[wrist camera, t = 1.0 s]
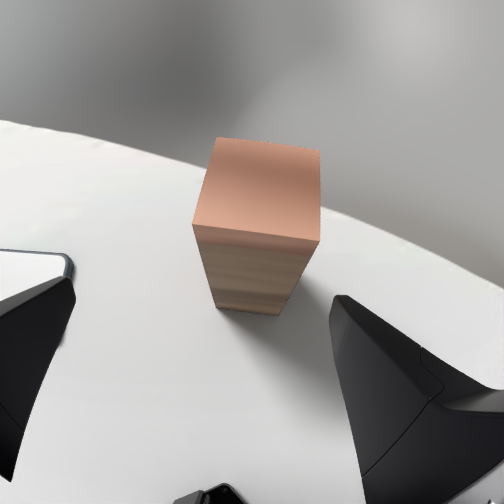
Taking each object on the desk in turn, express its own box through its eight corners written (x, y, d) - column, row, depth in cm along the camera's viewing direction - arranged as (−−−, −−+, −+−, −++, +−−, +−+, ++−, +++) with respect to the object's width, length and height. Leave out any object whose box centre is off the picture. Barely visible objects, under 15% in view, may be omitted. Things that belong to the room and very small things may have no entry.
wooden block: (277, 315, 23) (319, 240, 11) (215, 307, 23) (191, 224, 11) (283, 259, 25) (319, 150, 13) (225, 251, 25) (216, 137, 13)
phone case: (79, 258, 25) (-13, 251, 24) (72, 251, 23) (-20, 245, 22) (63, 347, 21) (-29, 319, 20) (54, 344, 20) (-37, 315, 19)
